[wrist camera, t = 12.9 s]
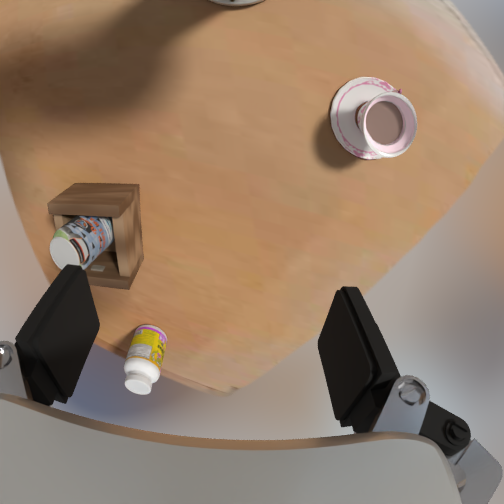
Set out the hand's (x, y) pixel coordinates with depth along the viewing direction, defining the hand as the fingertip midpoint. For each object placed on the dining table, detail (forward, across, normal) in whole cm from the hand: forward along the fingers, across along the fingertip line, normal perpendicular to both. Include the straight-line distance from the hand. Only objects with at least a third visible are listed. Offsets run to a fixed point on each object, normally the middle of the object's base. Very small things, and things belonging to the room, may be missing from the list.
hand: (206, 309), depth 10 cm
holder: (+30, +18, +12) cm, 37 cm away
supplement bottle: (+31, +13, +36) cm, 49 cm away
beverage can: (+29, +18, +11) cm, 36 cm away
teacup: (+31, -18, -7) cm, 36 cm away
